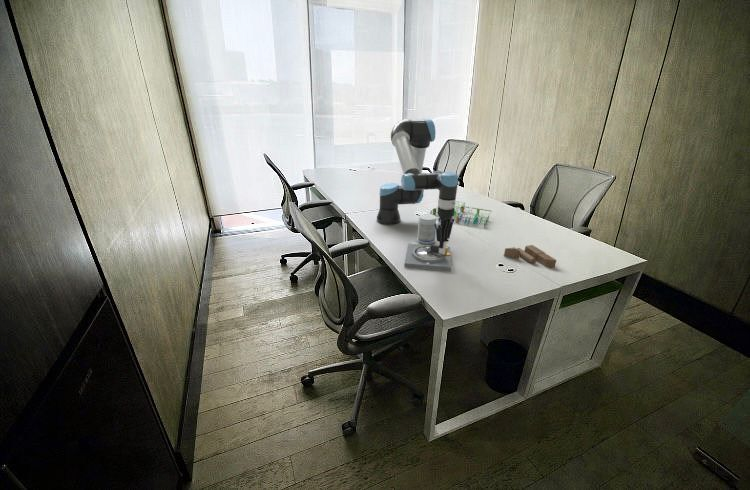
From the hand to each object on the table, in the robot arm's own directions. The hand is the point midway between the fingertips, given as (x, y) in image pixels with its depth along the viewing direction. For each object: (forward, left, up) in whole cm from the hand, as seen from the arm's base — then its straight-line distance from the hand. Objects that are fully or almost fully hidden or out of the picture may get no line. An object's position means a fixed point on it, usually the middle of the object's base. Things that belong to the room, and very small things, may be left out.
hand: (441, 253), depth 161 cm
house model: (+14, +68, -6) cm, 70 cm away
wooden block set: (+43, +10, -6) cm, 44 cm away
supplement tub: (-8, +23, -5) cm, 25 cm away
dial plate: (-6, +3, -5) cm, 9 cm away
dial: (-5, +3, -3) cm, 6 cm away
